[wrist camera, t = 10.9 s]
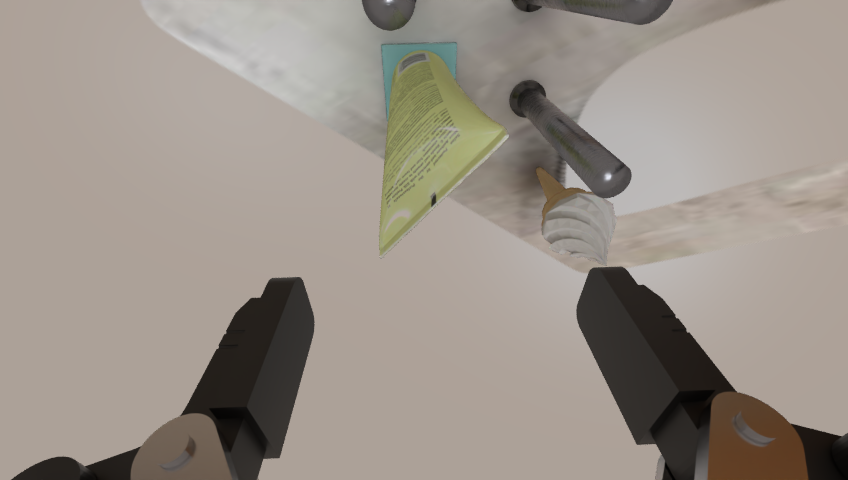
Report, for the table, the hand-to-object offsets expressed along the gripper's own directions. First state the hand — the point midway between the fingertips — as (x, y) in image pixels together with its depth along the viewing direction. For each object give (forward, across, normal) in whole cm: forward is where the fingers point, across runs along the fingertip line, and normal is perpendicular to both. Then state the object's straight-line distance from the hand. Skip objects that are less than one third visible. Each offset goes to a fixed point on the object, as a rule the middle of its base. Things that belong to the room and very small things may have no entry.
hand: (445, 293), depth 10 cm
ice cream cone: (+25, -12, +8) cm, 29 cm away
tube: (+24, 0, 0) cm, 25 cm away
